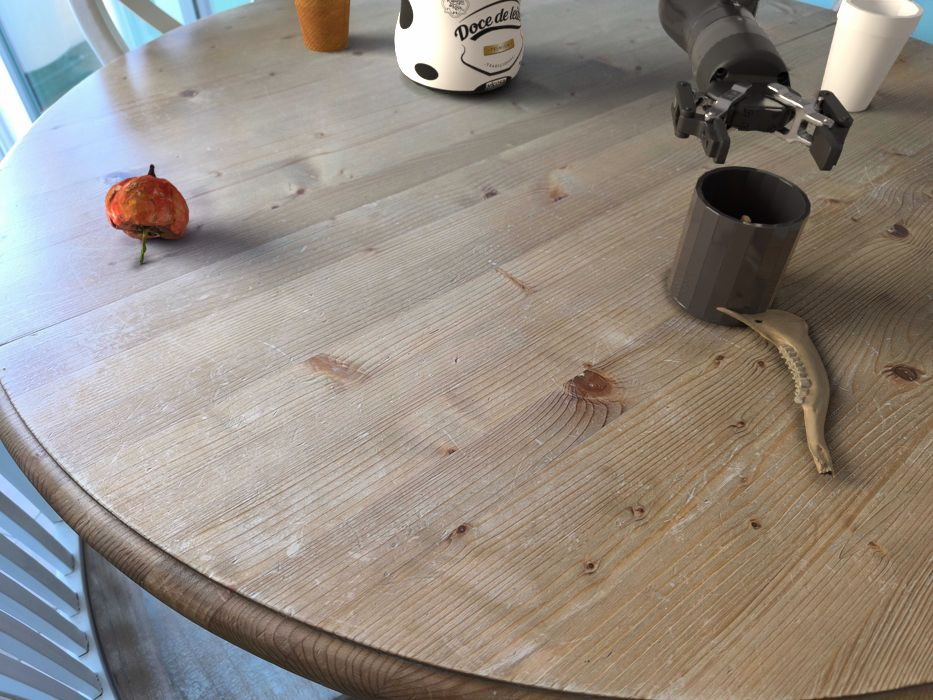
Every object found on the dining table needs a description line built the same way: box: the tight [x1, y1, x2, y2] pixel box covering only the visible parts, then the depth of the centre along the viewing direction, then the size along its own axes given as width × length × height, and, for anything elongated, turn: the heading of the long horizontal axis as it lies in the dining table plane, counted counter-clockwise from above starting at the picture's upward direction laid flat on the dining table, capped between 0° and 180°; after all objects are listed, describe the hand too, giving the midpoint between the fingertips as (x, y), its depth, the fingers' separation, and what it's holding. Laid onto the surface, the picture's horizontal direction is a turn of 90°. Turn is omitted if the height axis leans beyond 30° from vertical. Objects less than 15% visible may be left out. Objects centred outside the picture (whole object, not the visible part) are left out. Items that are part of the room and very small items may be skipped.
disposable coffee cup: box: [294, 0, 351, 53], centre depth 106 cm, size 10×10×12 cm
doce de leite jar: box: [394, 0, 525, 95], centre depth 98 cm, size 17×17×18 cm
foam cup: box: [819, 0, 925, 113], centre depth 98 cm, size 10×9×13 cm
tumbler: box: [667, 165, 812, 327], centre depth 68 cm, size 10×10×11 cm
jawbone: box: [716, 308, 835, 480], centre depth 63 cm, size 9×20×2 cm, turn 15°
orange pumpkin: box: [104, 163, 190, 266], centre depth 72 cm, size 7×7×10 cm
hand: (777, 157), depth 59 cm, fingers open, 8 cm apart
